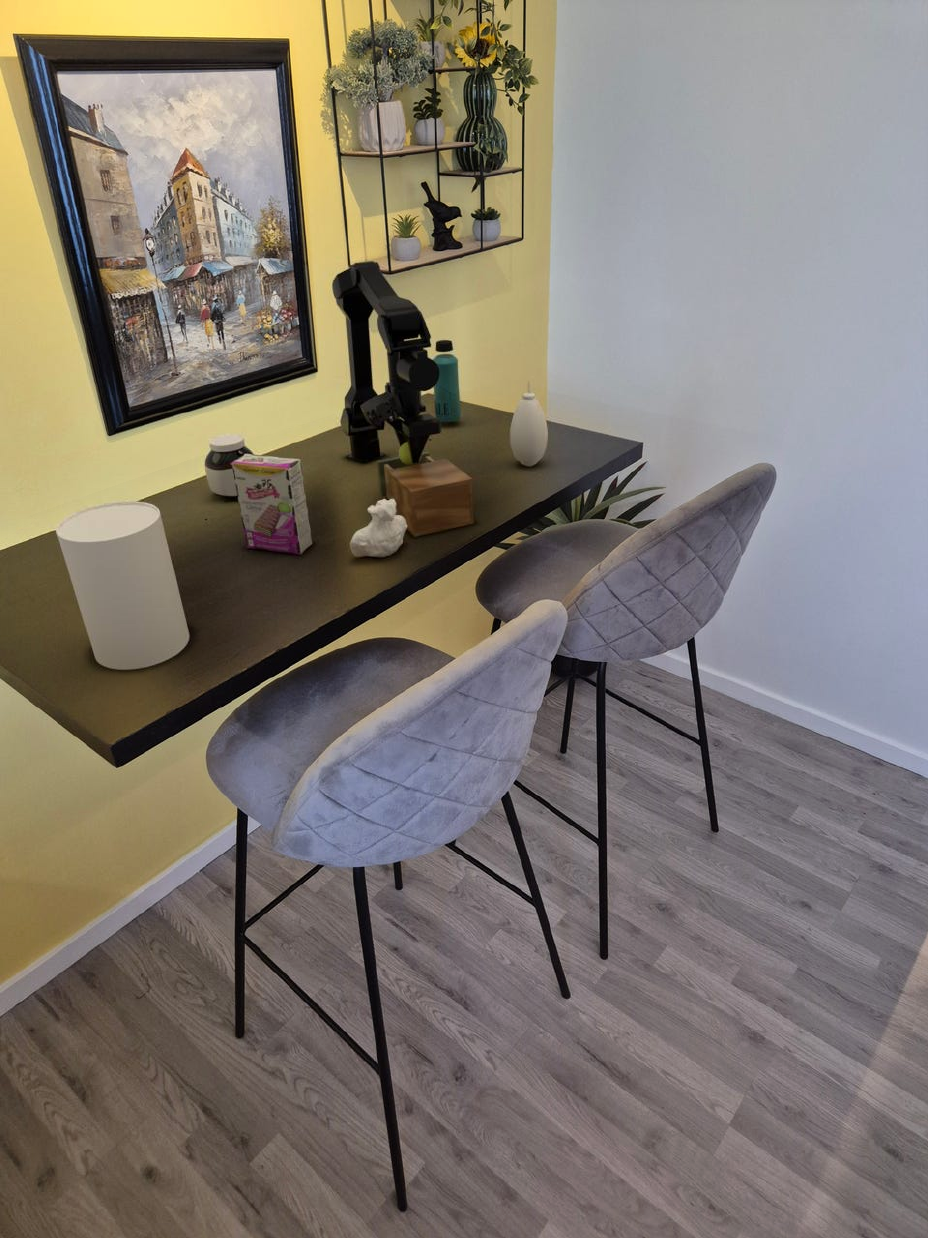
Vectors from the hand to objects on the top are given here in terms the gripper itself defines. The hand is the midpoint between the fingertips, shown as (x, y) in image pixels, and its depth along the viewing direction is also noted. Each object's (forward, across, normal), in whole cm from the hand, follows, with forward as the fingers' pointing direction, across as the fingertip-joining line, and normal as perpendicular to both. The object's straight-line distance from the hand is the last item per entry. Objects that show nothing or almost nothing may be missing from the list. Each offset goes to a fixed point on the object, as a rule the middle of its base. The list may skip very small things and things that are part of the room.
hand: (410, 459), depth 166 cm
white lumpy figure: (+9, +19, -13) cm, 25 cm away
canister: (+9, +30, -55) cm, 64 cm away
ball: (-1, 0, 0) cm, 1 cm away
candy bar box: (+9, +7, -29) cm, 31 cm away
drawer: (+8, 0, 0) cm, 8 cm away
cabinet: (+9, +9, 0) cm, 13 cm away
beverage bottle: (+9, -42, +26) cm, 50 cm away
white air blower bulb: (+9, -7, +29) cm, 31 cm away
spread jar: (+9, -25, -30) cm, 40 cm away
